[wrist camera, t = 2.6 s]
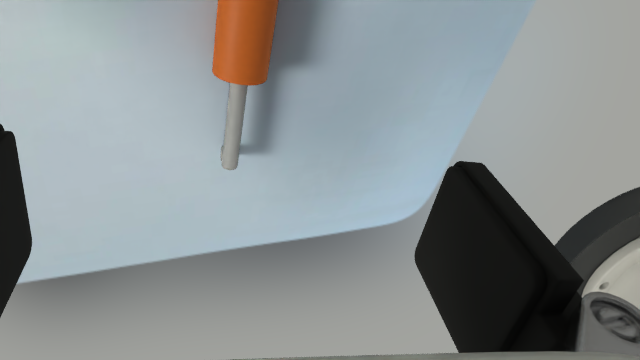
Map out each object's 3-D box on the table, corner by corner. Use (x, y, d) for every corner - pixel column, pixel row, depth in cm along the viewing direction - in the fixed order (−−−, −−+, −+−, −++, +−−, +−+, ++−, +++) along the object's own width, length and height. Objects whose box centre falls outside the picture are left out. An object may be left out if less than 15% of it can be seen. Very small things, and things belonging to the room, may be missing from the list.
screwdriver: (281, -50, 23) (288, -41, 21) (252, 156, 29) (254, 181, 27) (222, -62, 22) (222, -53, 20) (205, 152, 28) (203, 177, 26)
